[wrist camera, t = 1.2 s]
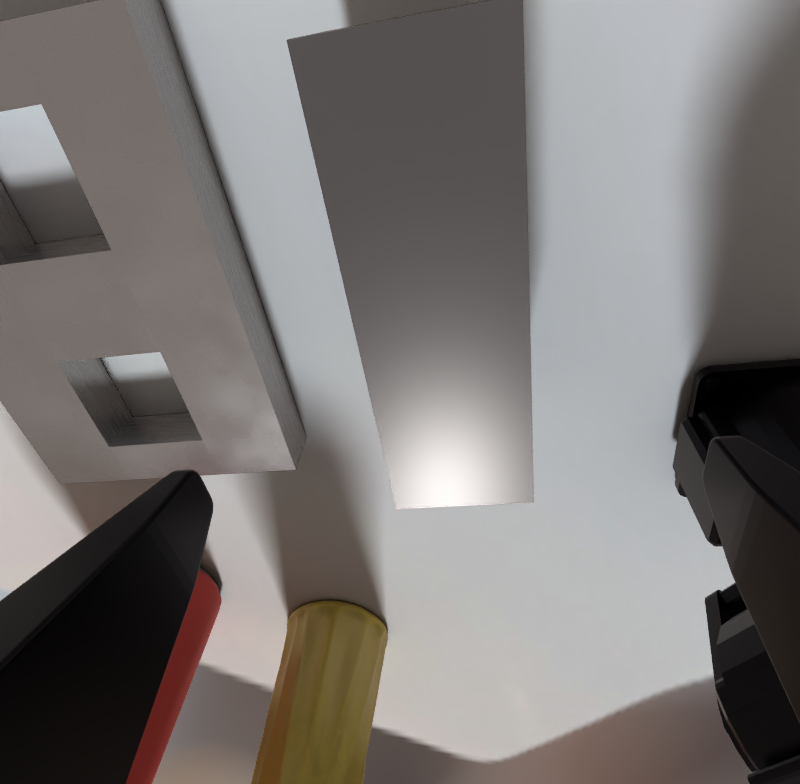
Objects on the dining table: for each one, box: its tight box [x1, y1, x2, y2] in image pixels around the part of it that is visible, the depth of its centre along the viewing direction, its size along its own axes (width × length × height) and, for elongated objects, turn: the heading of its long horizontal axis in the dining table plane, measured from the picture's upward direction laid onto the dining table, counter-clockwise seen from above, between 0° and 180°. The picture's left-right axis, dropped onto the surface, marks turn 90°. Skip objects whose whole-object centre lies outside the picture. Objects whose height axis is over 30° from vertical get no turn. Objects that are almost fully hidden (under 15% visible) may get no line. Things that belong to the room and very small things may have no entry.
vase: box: [251, 601, 388, 784], centre depth 27 cm, size 6×6×14 cm
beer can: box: [126, 568, 221, 784], centre depth 26 cm, size 7×7×12 cm
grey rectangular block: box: [287, 0, 534, 509], centre depth 16 cm, size 13×4×6 cm, turn 9°
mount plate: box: [0, 0, 306, 484], centre depth 19 cm, size 11×16×2 cm
